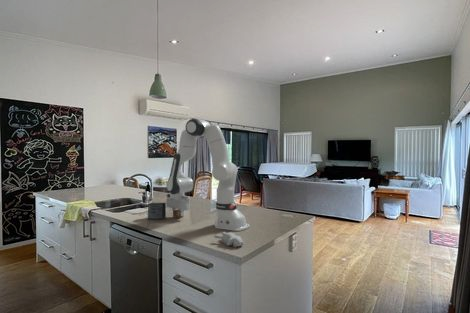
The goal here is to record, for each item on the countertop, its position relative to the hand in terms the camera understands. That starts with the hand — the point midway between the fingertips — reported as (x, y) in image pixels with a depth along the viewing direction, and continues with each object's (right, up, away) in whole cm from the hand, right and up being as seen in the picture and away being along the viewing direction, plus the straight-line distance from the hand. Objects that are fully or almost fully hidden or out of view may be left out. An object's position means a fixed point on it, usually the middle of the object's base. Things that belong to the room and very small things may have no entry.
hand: (178, 215), depth 186 cm
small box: (-14, -2, -2) cm, 14 cm away
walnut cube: (0, -2, 0) cm, 2 cm away
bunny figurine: (+37, -3, -52) cm, 63 cm away
